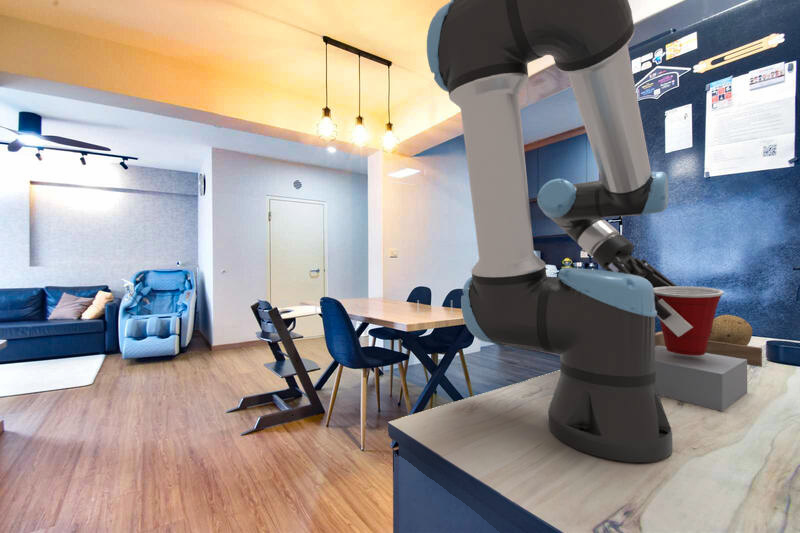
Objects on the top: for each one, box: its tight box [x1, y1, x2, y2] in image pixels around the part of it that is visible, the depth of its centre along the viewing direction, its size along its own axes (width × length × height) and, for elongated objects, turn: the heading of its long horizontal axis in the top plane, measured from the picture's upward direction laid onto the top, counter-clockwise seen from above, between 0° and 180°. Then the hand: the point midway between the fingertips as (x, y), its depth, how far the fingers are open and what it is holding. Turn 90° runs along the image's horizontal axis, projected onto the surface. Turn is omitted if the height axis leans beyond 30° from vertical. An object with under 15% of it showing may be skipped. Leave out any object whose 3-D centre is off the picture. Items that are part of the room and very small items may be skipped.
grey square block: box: [655, 345, 748, 412], centre depth 68 cm, size 14×14×6 cm
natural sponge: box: [708, 314, 753, 346], centre depth 92 cm, size 9×9×10 cm
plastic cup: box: [653, 285, 725, 355], centre depth 67 cm, size 11×11×12 cm
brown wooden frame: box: [655, 330, 763, 367], centre depth 81 cm, size 22×15×7 cm
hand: (695, 328), depth 66 cm, fingers closed on plastic cup, 9 cm apart
